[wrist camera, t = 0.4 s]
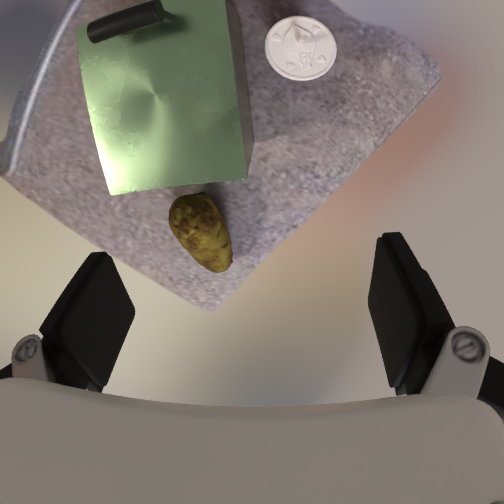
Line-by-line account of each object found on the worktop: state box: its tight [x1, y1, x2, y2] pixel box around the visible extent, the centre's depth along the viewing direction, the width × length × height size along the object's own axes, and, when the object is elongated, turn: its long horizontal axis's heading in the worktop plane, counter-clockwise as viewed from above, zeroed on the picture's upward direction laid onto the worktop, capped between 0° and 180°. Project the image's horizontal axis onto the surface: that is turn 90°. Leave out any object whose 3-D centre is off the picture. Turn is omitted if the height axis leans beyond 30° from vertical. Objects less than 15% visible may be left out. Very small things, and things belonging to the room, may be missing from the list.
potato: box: [169, 192, 233, 273], centre depth 40 cm, size 8×13×8 cm, turn 175°
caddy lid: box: [75, 0, 247, 195], centre depth 20 cm, size 18×14×5 cm
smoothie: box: [264, 16, 337, 81], centre depth 24 cm, size 6×6×14 cm
